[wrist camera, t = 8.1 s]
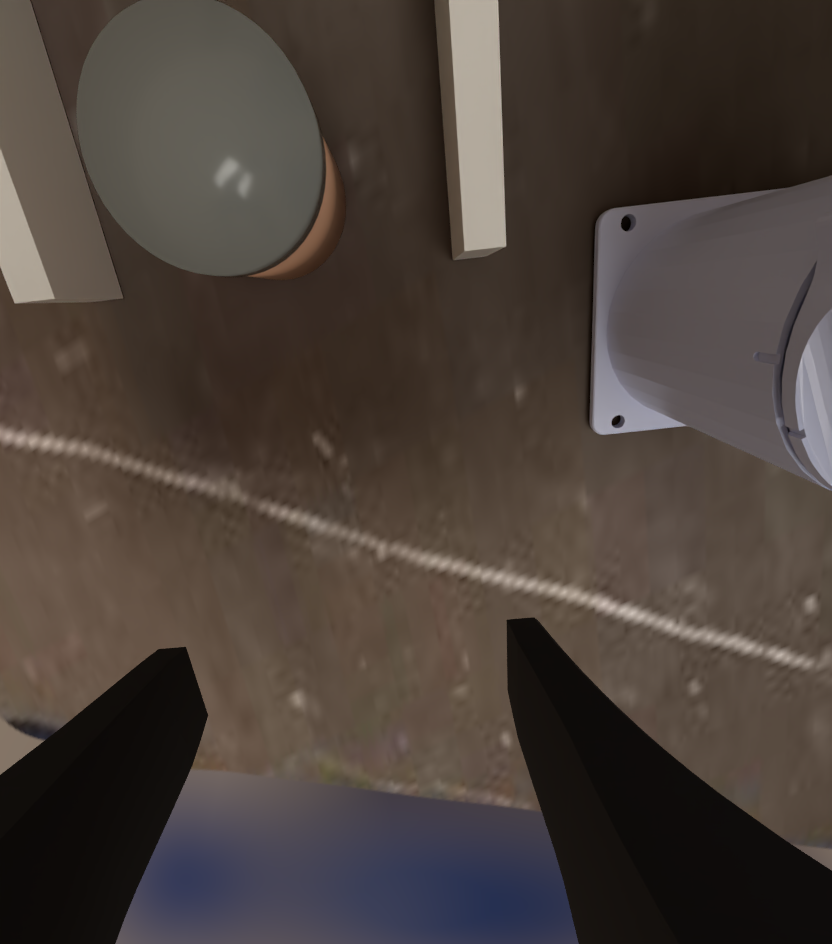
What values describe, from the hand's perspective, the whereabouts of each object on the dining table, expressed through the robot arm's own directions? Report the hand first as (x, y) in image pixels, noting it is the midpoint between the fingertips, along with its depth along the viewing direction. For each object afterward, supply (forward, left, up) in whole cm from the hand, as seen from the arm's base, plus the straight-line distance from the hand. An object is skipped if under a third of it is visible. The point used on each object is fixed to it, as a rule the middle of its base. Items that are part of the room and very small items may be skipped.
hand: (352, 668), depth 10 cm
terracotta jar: (+2, -11, -10) cm, 15 cm away
